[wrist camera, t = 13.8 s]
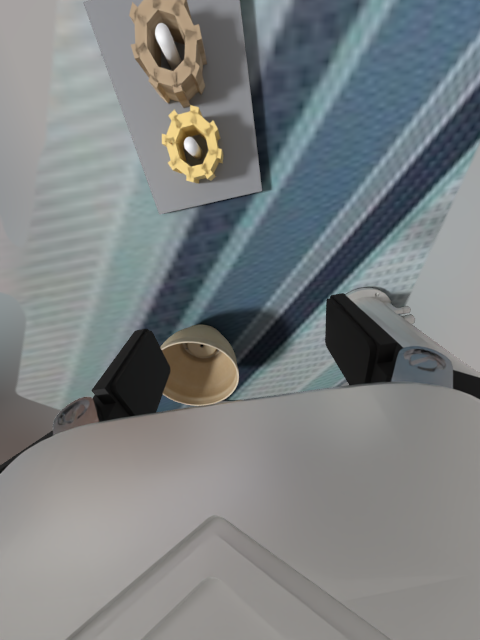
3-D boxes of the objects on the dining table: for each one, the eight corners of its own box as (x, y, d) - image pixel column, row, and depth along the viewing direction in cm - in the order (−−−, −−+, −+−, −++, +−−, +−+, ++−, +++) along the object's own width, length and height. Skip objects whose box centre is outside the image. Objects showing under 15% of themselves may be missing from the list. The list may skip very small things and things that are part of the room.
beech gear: (179, -1, 21) (166, -44, 17) (217, 78, 24) (214, 57, 20) (134, 53, 23) (114, 25, 19) (175, 121, 26) (165, 108, 22)
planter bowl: (239, 310, 43) (240, 342, 33) (237, 367, 51) (237, 405, 42) (160, 308, 42) (139, 341, 33) (171, 366, 50) (157, 405, 41)
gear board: (234, -33, 21) (233, -121, 15) (260, 191, 32) (266, 190, 26) (91, 13, 23) (40, -52, 17) (162, 213, 33) (146, 217, 27)
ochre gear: (215, 113, 26) (212, 99, 22) (227, 176, 29) (226, 174, 26) (165, 126, 26) (153, 115, 23) (182, 187, 30) (174, 186, 26)
